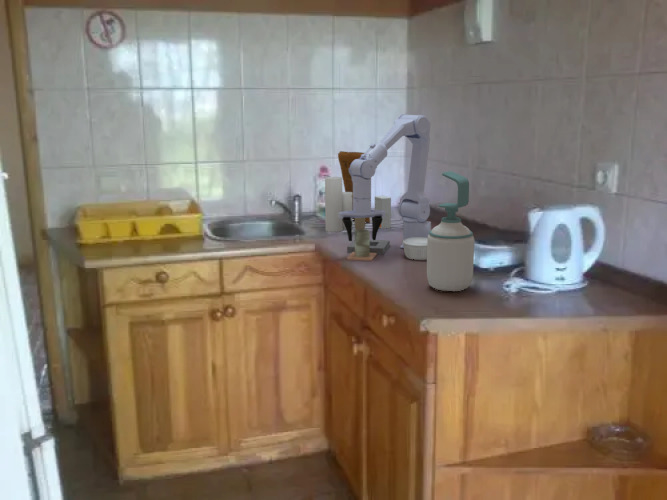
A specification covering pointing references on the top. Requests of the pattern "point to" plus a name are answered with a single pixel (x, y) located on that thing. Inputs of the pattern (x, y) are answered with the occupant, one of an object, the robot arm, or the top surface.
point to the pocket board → (372, 246)
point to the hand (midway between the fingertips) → (362, 240)
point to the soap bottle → (451, 245)
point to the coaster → (354, 257)
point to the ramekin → (415, 248)
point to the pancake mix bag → (345, 163)
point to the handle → (359, 222)
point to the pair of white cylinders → (336, 204)
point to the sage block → (362, 243)
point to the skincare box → (385, 205)
